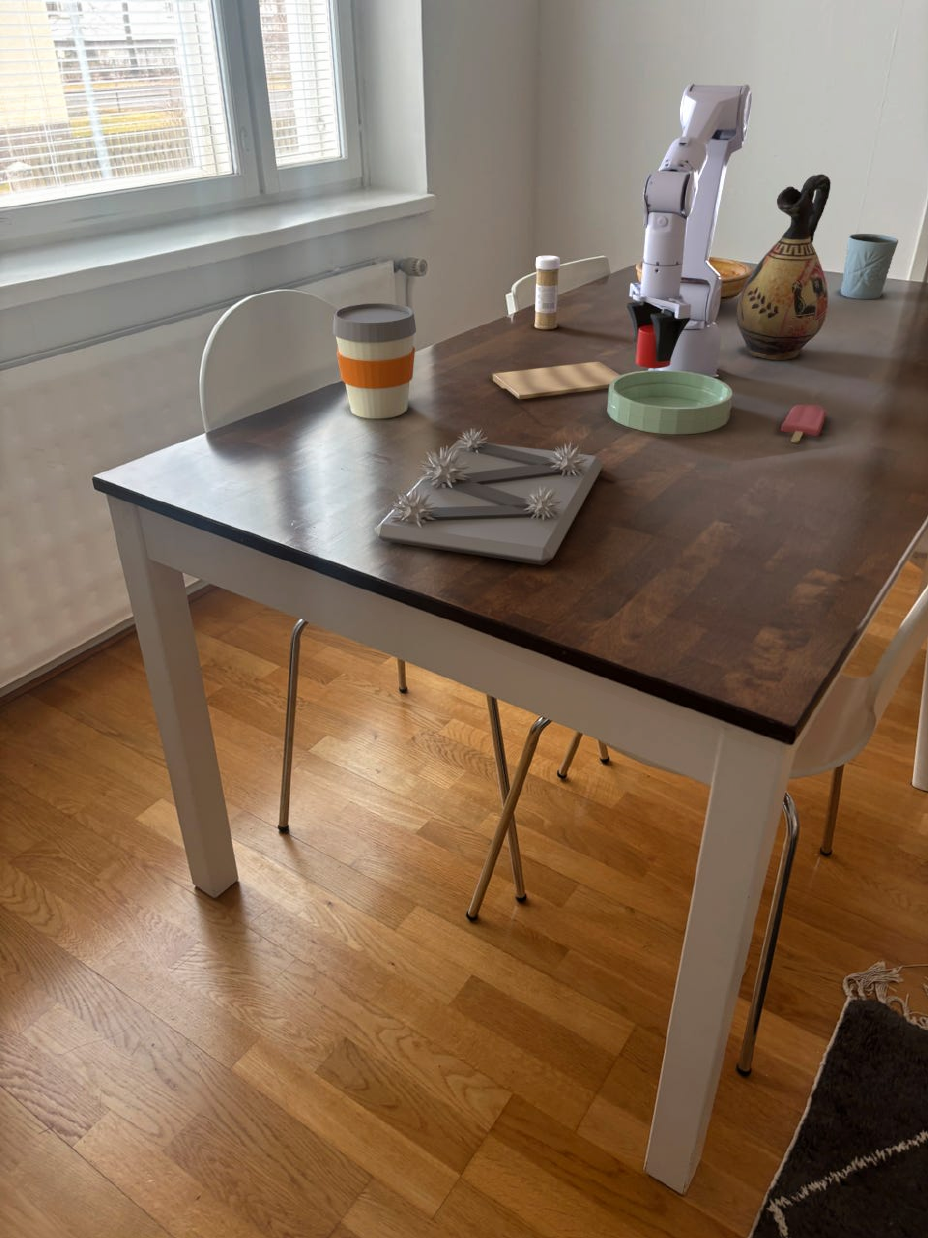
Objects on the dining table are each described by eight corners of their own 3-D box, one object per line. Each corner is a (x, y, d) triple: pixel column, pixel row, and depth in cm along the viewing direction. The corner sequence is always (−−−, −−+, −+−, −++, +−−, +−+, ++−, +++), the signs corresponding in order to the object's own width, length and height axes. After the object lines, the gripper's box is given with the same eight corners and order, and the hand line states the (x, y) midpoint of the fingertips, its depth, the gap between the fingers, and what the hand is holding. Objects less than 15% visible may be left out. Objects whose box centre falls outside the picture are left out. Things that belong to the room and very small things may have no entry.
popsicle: (776, 433, 137) (793, 401, 148) (774, 444, 138) (791, 411, 149) (815, 439, 135) (829, 406, 146) (813, 449, 136) (827, 416, 147)
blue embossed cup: (834, 288, 218) (844, 232, 212) (880, 289, 217) (892, 233, 211) (842, 299, 210) (854, 241, 203) (890, 300, 208) (903, 242, 202)
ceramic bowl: (657, 285, 222) (661, 249, 218) (762, 296, 212) (768, 258, 208) (611, 314, 200) (614, 274, 196) (726, 328, 190) (732, 287, 186)
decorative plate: (549, 573, 106) (552, 515, 102) (371, 545, 112) (367, 489, 108) (604, 470, 130) (608, 420, 126) (455, 452, 136) (454, 404, 132)
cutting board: (598, 367, 169) (598, 361, 168) (630, 388, 159) (630, 381, 159) (492, 380, 163) (492, 373, 163) (519, 402, 154) (519, 395, 153)
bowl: (688, 391, 158) (691, 364, 155) (752, 429, 143) (756, 400, 140) (587, 404, 152) (589, 377, 150) (642, 445, 138) (645, 415, 135)
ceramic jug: (787, 371, 166) (820, 184, 151) (714, 352, 176) (738, 175, 160) (839, 352, 176) (875, 174, 160) (767, 335, 186) (794, 166, 170)
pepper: (659, 356, 149) (663, 313, 145) (676, 366, 145) (681, 322, 141) (629, 360, 147) (633, 316, 144) (646, 369, 143) (650, 325, 140)
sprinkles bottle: (557, 324, 193) (561, 254, 186) (555, 330, 190) (558, 259, 182) (535, 323, 194) (537, 254, 187) (532, 329, 190) (534, 259, 183)
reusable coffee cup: (365, 391, 159) (359, 298, 151) (432, 402, 154) (430, 307, 146) (323, 415, 149) (315, 317, 141) (393, 427, 144) (389, 327, 136)
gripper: (614, 254, 143) (608, 345, 150) (663, 274, 131) (654, 371, 138) (656, 250, 145) (647, 340, 152) (708, 270, 133) (696, 366, 140)
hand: (653, 355), depth 145 cm, fingers closed on pepper, 5 cm apart
